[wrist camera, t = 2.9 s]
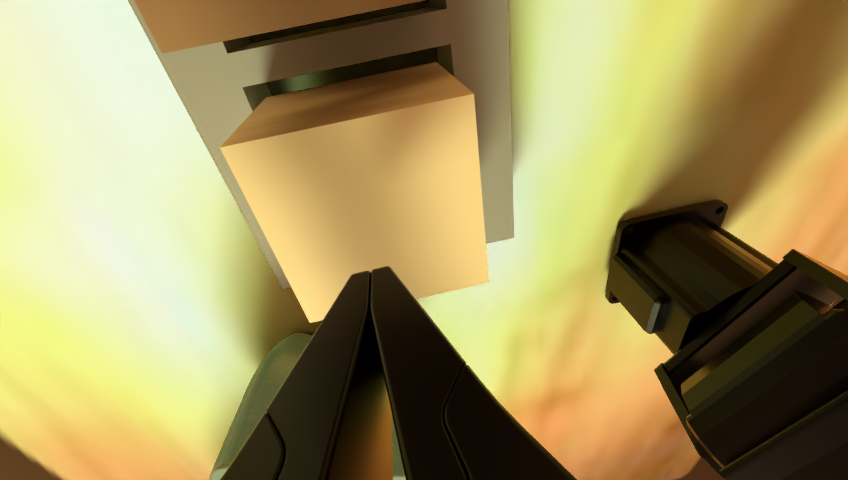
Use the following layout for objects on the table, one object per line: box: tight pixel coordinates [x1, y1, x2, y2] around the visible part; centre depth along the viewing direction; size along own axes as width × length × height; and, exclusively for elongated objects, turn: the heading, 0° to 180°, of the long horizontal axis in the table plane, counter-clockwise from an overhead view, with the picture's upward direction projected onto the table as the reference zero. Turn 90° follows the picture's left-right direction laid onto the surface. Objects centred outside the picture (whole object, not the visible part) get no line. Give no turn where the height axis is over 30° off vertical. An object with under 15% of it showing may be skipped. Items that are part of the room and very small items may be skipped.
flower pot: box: [209, 333, 406, 480], centre depth 21 cm, size 9×9×9 cm
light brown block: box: [220, 62, 489, 323], centre depth 12 cm, size 6×6×5 cm
